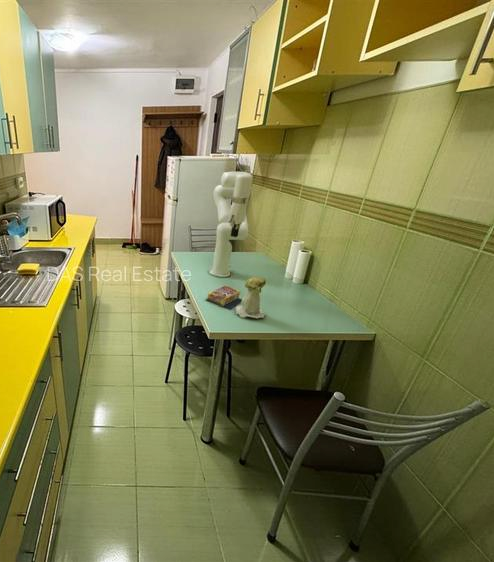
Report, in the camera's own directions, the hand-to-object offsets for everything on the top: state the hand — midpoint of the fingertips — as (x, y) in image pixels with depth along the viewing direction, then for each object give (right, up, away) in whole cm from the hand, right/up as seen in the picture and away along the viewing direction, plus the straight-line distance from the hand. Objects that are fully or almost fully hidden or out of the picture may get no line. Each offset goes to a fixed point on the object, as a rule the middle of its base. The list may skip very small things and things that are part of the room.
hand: (234, 236), depth 158 cm
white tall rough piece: (+1, -39, -15) cm, 42 cm away
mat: (-6, -33, -4) cm, 34 cm away
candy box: (-1, -29, +1) cm, 29 cm away
